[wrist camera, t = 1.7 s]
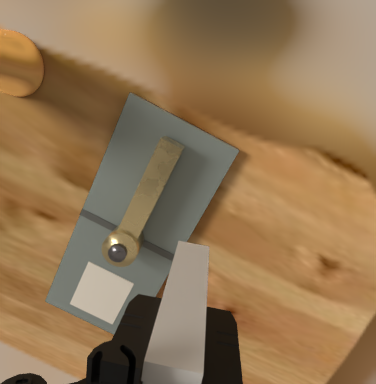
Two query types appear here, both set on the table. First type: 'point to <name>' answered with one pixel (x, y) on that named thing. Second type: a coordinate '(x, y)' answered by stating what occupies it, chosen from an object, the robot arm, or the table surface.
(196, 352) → the robot arm
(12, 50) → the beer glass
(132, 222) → the latch bar
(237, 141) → the table surface
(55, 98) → the table surface
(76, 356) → the table surface
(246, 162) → the table surface
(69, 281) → the door board
